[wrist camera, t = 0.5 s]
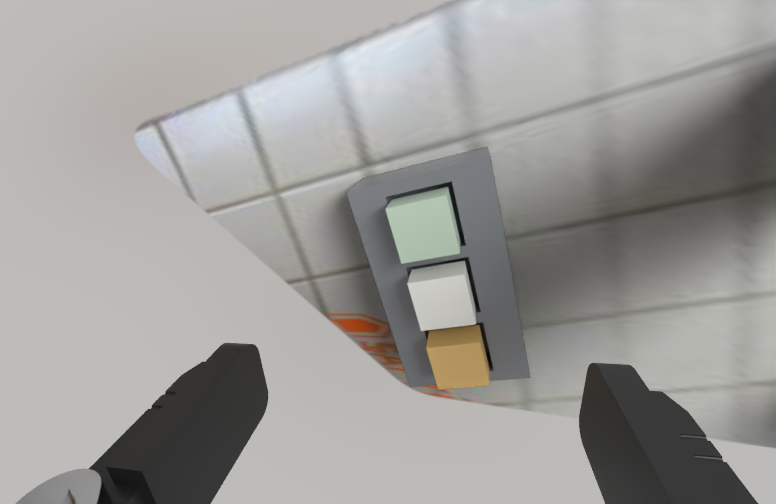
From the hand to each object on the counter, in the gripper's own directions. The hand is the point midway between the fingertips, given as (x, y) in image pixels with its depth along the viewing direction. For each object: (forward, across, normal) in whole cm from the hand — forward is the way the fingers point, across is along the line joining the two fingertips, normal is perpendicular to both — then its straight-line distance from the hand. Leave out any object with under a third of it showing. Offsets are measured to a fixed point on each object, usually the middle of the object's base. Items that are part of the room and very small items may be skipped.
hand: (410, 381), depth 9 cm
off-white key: (+15, 0, +5) cm, 16 cm away
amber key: (+15, -2, +10) cm, 19 cm away
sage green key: (+15, +1, +1) cm, 15 cm away
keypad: (+19, -1, +5) cm, 20 cm away
